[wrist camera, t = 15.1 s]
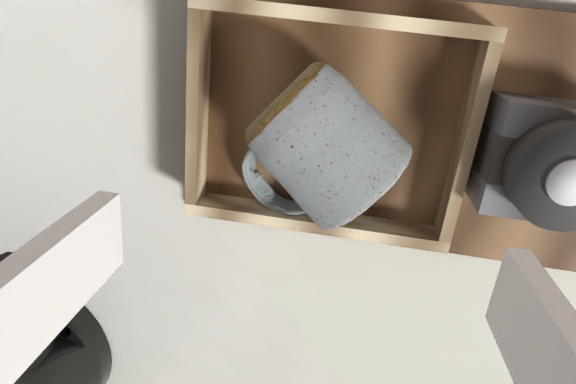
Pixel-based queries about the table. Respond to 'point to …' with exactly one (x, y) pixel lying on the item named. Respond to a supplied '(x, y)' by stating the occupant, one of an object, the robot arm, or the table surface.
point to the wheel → (544, 175)
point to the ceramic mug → (323, 150)
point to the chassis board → (387, 110)
